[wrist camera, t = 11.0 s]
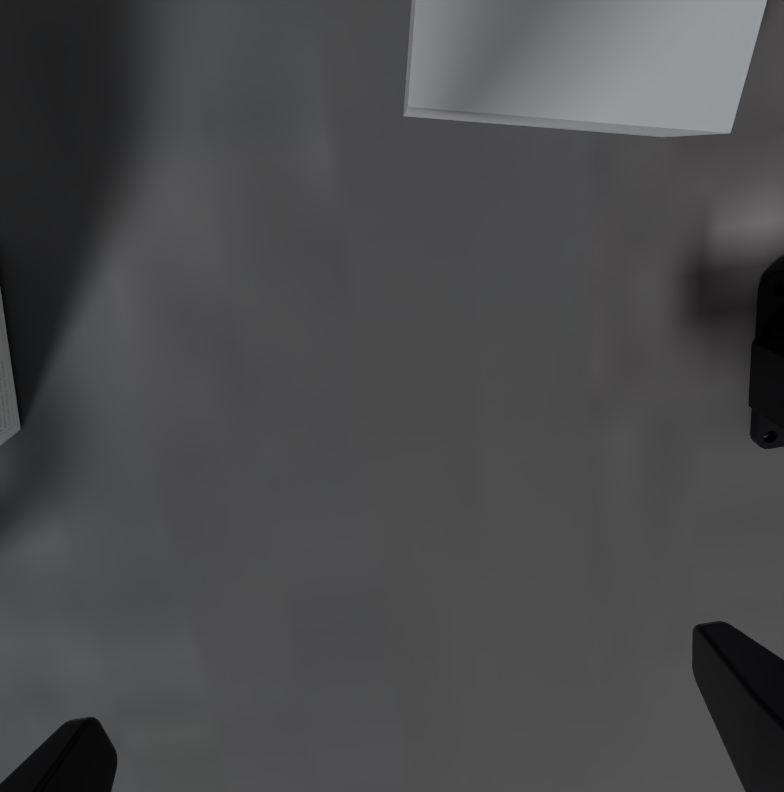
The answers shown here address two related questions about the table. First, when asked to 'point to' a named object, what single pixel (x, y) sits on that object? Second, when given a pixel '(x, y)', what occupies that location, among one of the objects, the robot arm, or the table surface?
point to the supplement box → (6, 386)
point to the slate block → (583, 63)
